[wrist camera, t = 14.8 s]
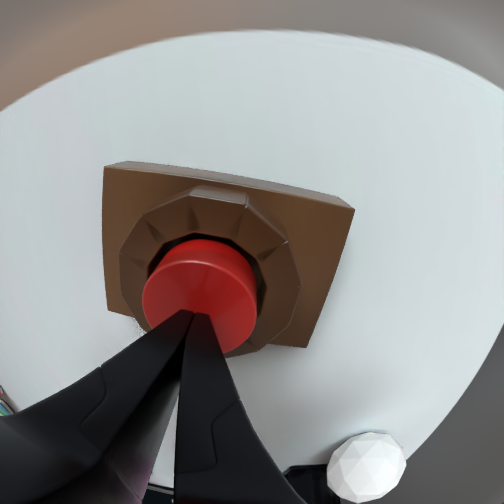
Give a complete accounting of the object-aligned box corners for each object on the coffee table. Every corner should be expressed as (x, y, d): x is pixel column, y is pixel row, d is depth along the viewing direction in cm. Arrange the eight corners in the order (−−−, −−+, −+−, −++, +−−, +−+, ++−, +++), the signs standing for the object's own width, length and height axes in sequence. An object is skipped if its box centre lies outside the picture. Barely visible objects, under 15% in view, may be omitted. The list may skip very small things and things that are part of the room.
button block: (339, 197, 12) (374, 223, 8) (300, 321, 14) (311, 375, 11) (126, 160, 11) (78, 172, 8) (124, 288, 14) (91, 332, 10)
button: (266, 248, 9) (268, 273, 7) (246, 332, 10) (245, 364, 9) (160, 229, 9) (140, 249, 7) (157, 315, 10) (143, 343, 9)
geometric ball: (335, 420, 23) (309, 466, 16) (410, 414, 19) (406, 465, 12) (339, 468, 22) (315, 513, 15) (406, 464, 18) (397, 515, 11)
